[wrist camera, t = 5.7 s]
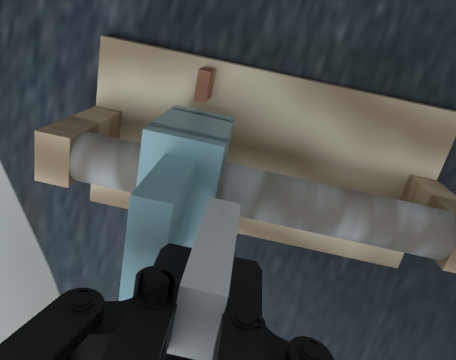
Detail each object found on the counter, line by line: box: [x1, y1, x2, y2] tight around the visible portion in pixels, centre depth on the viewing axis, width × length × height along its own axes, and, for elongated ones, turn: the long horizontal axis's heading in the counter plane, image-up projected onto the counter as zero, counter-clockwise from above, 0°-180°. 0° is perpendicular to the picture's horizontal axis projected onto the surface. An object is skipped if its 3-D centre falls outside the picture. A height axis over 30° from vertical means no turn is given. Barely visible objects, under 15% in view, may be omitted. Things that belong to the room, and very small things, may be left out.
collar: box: [119, 105, 235, 301], centre depth 20 cm, size 7×4×12 cm, turn 169°
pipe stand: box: [35, 36, 456, 273], centre depth 25 cm, size 13×26×10 cm, turn 79°
